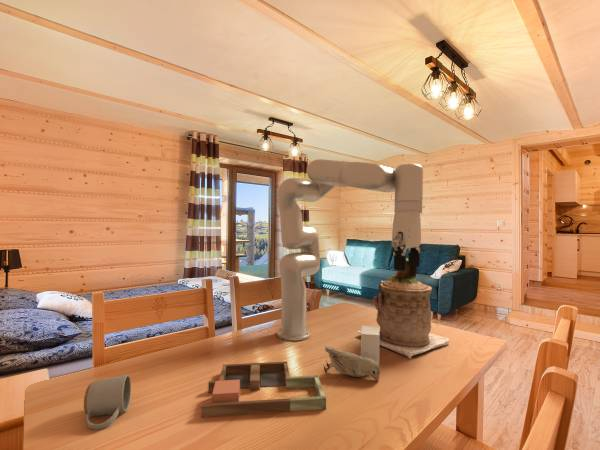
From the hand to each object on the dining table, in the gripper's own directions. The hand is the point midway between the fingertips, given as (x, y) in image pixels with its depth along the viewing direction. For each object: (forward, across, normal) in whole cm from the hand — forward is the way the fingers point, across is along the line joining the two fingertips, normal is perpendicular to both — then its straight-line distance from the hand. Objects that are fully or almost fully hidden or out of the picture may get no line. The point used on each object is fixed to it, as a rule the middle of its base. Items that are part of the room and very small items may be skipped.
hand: (407, 268), depth 89 cm
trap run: (+31, +33, -24) cm, 51 cm away
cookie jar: (+31, -25, -12) cm, 42 cm away
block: (+31, +42, -27) cm, 59 cm away
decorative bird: (+32, +11, -11) cm, 35 cm away
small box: (+31, 0, -11) cm, 33 cm away
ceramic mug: (+31, +64, -42) cm, 82 cm away
